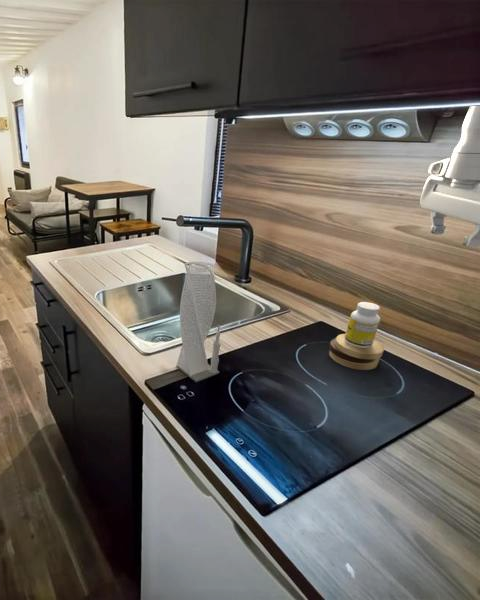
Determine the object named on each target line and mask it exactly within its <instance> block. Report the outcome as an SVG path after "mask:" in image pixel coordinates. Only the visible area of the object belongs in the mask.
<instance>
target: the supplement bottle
mask: <svg viewBox="0 0 480 600" xmlns="http://www.w3.org/2000/svg"><path fill="white" fill-rule="evenodd" d="M380 309H381V308H380V305H378V304H377V303H373V302H368V301H360V302H358V303H357V305H356V310H354V311H352V312H351V313H350V317H349V319H348V323H347V328H346V332H345V334H346V335H345V341H346V342H347V343H348V344H350V345H352V346H355V347H359V348H369V347H371V346H372V344H373V341H374V340H375V338H376V335H377V332H378V328H379V325H380V323H381V317H380V315H379V313H380Z"/></svg>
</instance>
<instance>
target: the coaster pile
mask: <svg viewBox="0 0 480 600" xmlns="http://www.w3.org/2000/svg"><path fill="white" fill-rule="evenodd" d="M345 335H346V333H340V334H338V335H337V336H336V337H335V338H333V339H331V341H330V342H329V346H328V348H329V351H328V355H329V357H330V359H332V360H333V361H334V362H335V363H337V364H339V365H341V366H343V367H347V368H348V369H349V368H350V369H353V370H358V371H370V370H374V369H376V368H377V367H378V366H379V362H380V359H381V357H382V356H383V355H384V351H385V347H384V345H383V344H382V343H381V342H380V341H378V340H376V339H374V341H373V344H372V346H371V347H369V348H359V347H355V346H352V345H350V344H348V343H347V342H346V341H345Z"/></svg>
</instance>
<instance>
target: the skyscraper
mask: <svg viewBox="0 0 480 600" xmlns="http://www.w3.org/2000/svg"><path fill="white" fill-rule="evenodd" d="M184 268H185V271H186V275H185V278H184V283H183V287H182V291H181V298H180V304H179V305H180V306H179V326H180V327H179V329H180V338H181V344H182V345H181V348H180V351H179V355H178V358H177V361H176V366H175V367H176V368H177V369H179V370H180V371H181V372H182V373H184V374H185V375H186V376H187V377H189V379H191V380H193V381H194V382H195V383H198V382H200V381H203V380H206V379H208V378H210V377H214V376H216V375H218V374H220V371H219V370H218V366H219V362H220V359H219V357H220V356H219V353H220V349H221V344H222V343H221V342H220V337H221V332H220V328H221V325H220V324H219V325H217V331H216V332H215V340H214V341H213V344H212V345H213V346H212V355H211V357H210V364H209V363H208V360H207V359H208V358H207V353H206V349H205V342H206V340H207V337H208V335H209V333H210V330H211V328H212V325H213V323H214V318H215V314H216V308H217V289H216V279H215V274H214V269H215V265H214V264H213V263H212V262H211V263H210V262H205V261H188V262H185V263H184Z"/></svg>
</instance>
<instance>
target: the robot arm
mask: <svg viewBox="0 0 480 600" xmlns="http://www.w3.org/2000/svg"><path fill="white" fill-rule="evenodd" d="M427 173H428V174H429V176H428V177H427V179H426V181H425V183H424V185H423V188H422V190H421V191H422V192H421V196H420V198H419V203H420V208H421V209H424V210H427V211H431V212H430V224H431V226H430V229H429V233H430V234H433V235H443V234H444V233H445V230H446V228H447V226H446V225H445V222H444V221H445V218H446V217H451V218H454V219H457V220H461V221H463V222H467V223H471V224H474V225H473V228H472V229H473V230H474V231H473V232H472V233H471V234H470V235H469V236H465V237H464V240H463V242H462V245H463V246H465V247H467V248H470V249H471V248H479V247H480V106H470V105H469V108H468V110H467V113H466V115H465V118H464V120H463V123H462V126H461V137H460V139H459V142H458V143H457V145H456V146H455V147H454V149H453V152H452V154H451V157H447V158H445V159H442V160H439V161H435V162H433V163H431V164H430V166H429V167H428V172H427Z"/></svg>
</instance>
